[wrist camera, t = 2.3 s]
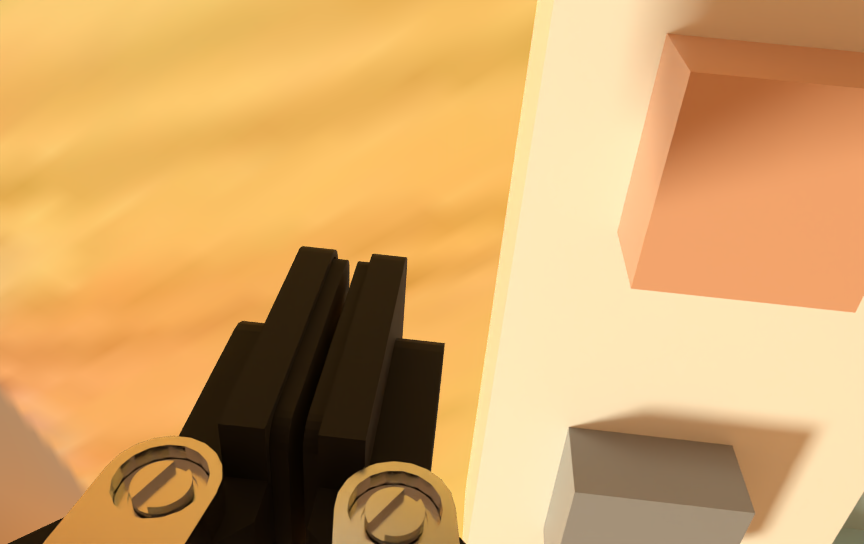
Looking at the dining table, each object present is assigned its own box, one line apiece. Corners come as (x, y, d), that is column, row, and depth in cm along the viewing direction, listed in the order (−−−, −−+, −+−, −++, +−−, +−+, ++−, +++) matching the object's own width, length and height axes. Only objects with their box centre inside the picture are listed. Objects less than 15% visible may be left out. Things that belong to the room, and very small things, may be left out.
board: (570, -227, 17) (590, -230, 13) (1085, -183, 17) (1270, -172, 13) (465, 490, 32) (459, 595, 28) (741, 522, 32) (776, 633, 28)
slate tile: (568, 426, 22) (574, 492, 20) (732, 445, 22) (755, 513, 20) (543, 528, 25) (546, 595, 23) (688, 546, 25) (704, 614, 23)
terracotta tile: (666, 33, 16) (690, 72, 14) (902, 56, 16) (962, 97, 14) (616, 231, 19) (630, 288, 16) (816, 252, 18) (855, 312, 16)
